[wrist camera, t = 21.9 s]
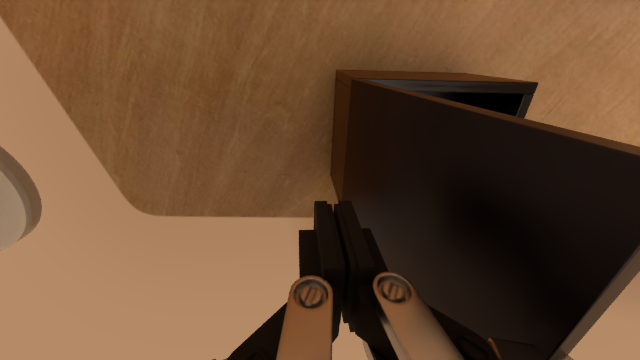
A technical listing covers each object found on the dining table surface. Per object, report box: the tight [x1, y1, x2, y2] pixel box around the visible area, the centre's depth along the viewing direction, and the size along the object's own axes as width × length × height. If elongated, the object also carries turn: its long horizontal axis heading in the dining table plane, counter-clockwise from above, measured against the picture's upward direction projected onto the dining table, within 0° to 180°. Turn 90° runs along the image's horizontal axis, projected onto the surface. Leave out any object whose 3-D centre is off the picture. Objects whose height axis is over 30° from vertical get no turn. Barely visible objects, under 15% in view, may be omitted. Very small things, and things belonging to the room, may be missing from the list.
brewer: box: [330, 70, 538, 202], centre depth 24 cm, size 14×12×9 cm
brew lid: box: [342, 79, 640, 360], centre depth 13 cm, size 14×12×1 cm
